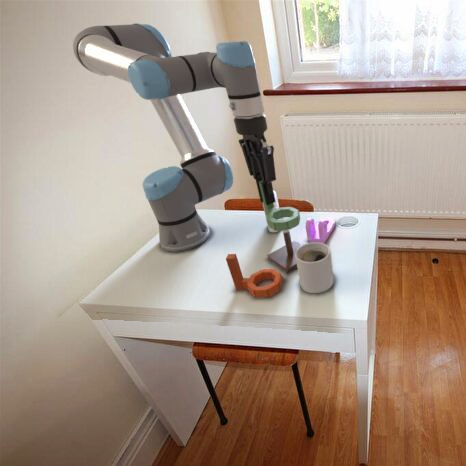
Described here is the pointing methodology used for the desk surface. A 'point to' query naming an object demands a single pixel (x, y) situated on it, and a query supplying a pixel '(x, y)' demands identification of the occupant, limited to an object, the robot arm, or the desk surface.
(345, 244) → the desk surface
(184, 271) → the desk surface
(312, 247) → the mug
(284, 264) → the peg stand
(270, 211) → the sage ring
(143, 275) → the desk surface
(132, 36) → the robot arm
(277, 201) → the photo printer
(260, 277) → the rust ring
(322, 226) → the bracket
